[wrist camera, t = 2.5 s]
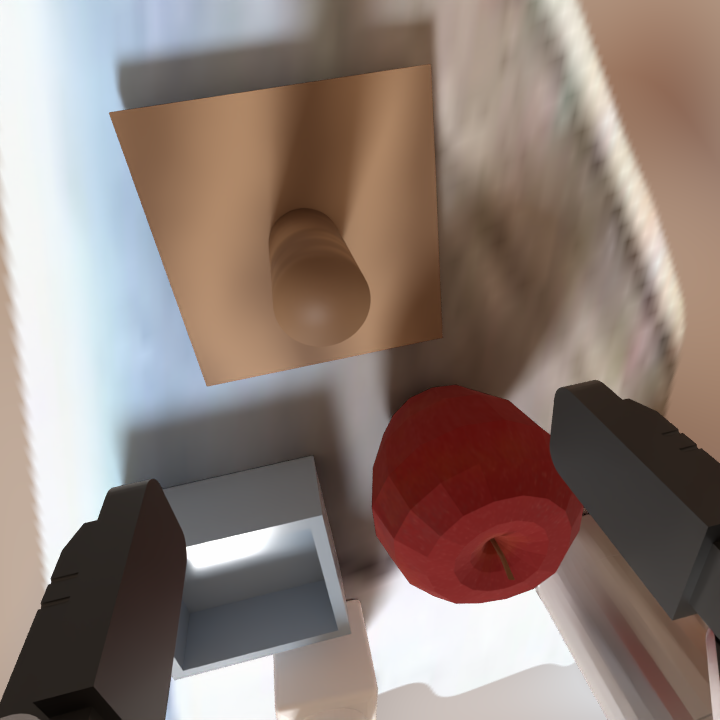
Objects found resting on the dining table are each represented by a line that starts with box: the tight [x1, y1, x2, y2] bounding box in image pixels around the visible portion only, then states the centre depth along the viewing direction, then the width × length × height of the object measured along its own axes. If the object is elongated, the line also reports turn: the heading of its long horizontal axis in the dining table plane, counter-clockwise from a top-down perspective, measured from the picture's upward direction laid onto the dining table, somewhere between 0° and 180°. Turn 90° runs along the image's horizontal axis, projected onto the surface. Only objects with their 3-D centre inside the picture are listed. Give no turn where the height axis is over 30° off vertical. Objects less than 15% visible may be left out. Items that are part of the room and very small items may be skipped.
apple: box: [372, 385, 584, 604], centre depth 26 cm, size 11×11×12 cm
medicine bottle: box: [273, 600, 378, 720], centre depth 35 cm, size 7×7×12 cm
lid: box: [109, 64, 443, 386], centre depth 20 cm, size 13×13×8 cm
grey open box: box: [162, 456, 351, 680], centre depth 31 cm, size 12×12×5 cm
